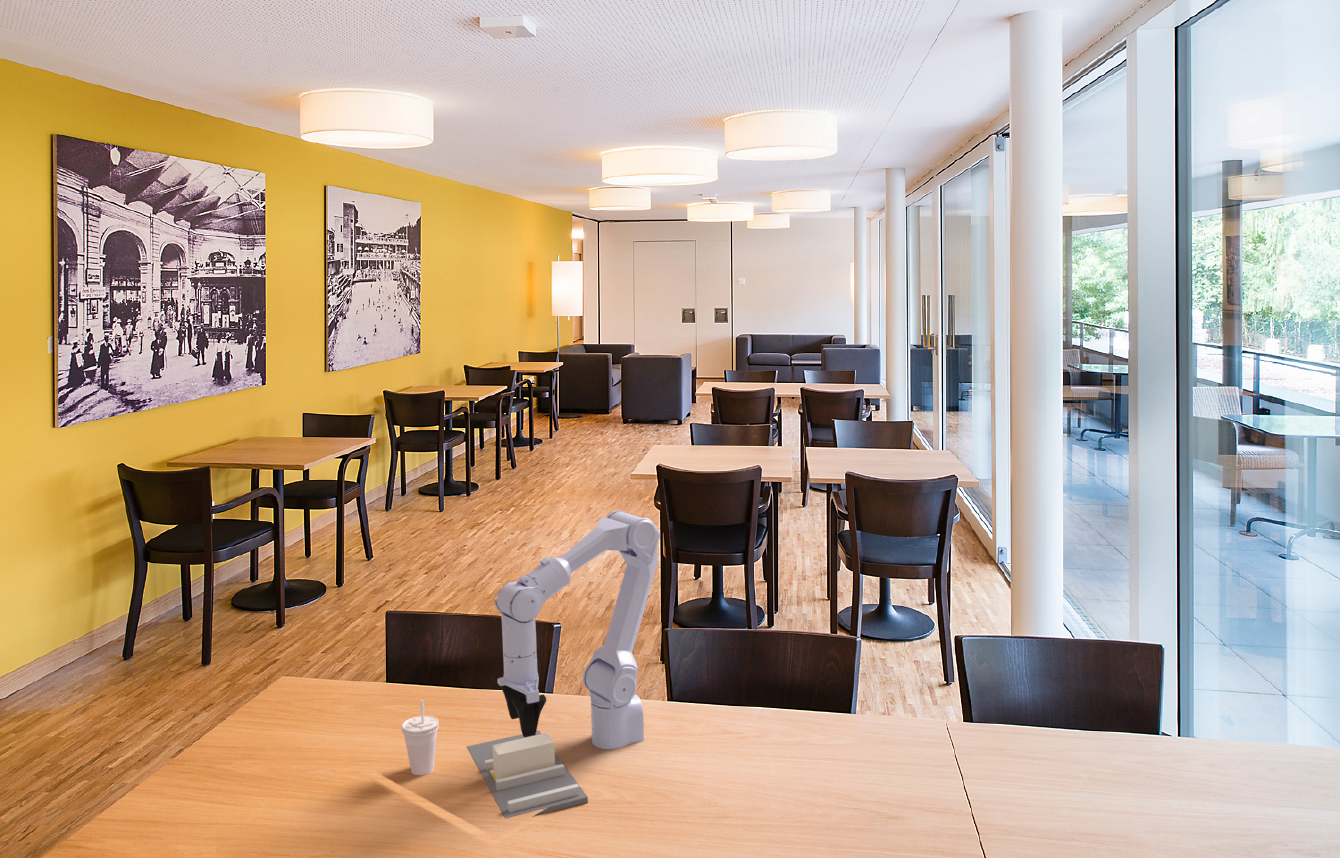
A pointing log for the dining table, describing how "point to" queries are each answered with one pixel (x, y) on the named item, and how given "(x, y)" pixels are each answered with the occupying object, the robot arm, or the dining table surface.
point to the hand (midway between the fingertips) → (522, 726)
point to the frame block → (523, 755)
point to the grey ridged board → (528, 784)
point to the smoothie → (421, 742)
